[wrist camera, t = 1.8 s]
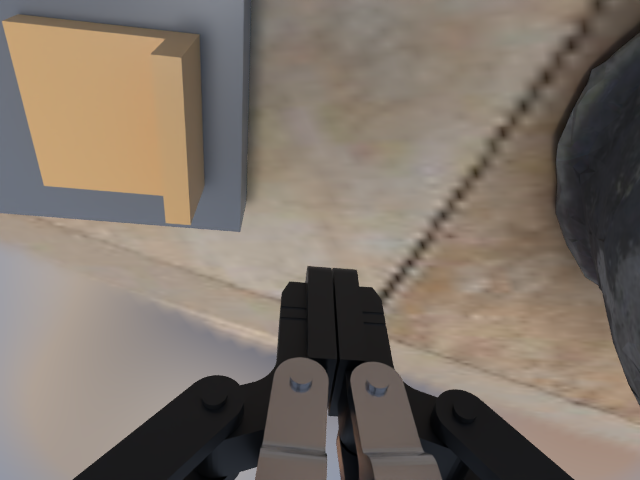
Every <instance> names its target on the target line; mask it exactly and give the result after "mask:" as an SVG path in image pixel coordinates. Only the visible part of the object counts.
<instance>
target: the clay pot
mask: <svg viewBox="0 0 640 480" xmlns="http://www.w3.org/2000/svg"><path fill="white" fill-rule="evenodd" d="M556 170H557V200H556V215H557V218H558V221H559V224H560V227H561V230H562V233H563V236H564V239H565V241H566V244H567V246H568V248H569V249H570V251H571V253H572V255H573V256H574V258H575V260H576V261H577V263H578V265H579V267H580V268H581V270H582V272H583V274H584V276H585V277H586V278H588V279H589V280H591V281H593V282H594V283H596V284H597V285H599V288H600V290H601V291H602V293H603V298H604V303H605V308H606V313H607V317H608V322H609V326H610V330H611V335H612V339H613V343H614V346H615V349H616V352H617V354H618V357H619V360H620V362H621V365H622V368H623V371H624V373H625V376H626V379H627V382H628V384H629V386H630V388H631V390H632V392H633V394H634V395H635V397H636V399H637V401H638V403H639V405H640V32H639V33H638V34H637V35H636V36H634V37H633V38H632V39H631V40H630V41H628V42H627V43H626V44H625V45H624V46H622V47H621V48H620V49H619V50H618V51H617V52H615V53H614V54H613V55H612V56H611V57H610V58H609V59H608V60H607V61H606V62H604V63H602V64H601V65H599V66H597V67H596V68H594V69H592V71H591V74H590V77H589V81H588V83H587V85H586V87H585V88H584V90H583V92H582V94H581V96H580V97H579V99H578V101H577V103H576V105H575V106H574V108H573V110H572V113H571V115H570V117H569V120H568V122H567V124H566V127H565V129H564V131H563V134H562V136H561V138H560V141H559V143H558V149H557V157H556Z"/></svg>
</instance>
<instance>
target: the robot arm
mask: <svg viewBox="0 0 640 480" xmlns="http://www.w3.org/2000/svg"><path fill="white" fill-rule="evenodd" d="M385 325H386V323H385V317H384V312H383V306H382V301H381V299H380V297H379V296H378V294H377V293H376V292H375V290H374V289H373V288H372V287H359V282H358V274H357V270H354V269H341V268H333V269H331V268H326V267H313V266H308V267H307V273H306V281H305V283H301V282H289V283H288V285H287V286H286V288H285V289H284V290H283V292H282V297H281V308H280V320H279V332H278V346H277V361H276V365H275V367H274V369H273V370H272V371H271V373H270V374H269V375H267V376H266V377H264V378H263V379H261V380H258V381H256V382H252V383H248V384H244V385H239V384H238V383H237V382H236V381H235V380H233V379H231V378H229V377H226V376H219V375H214V376H208V377H205V378H202V379H201V380H199V381H197V382H195V383H194V384H193V385H192V386H190V387H189V388H188V389H186V390H185V391H184V392H183V393H182V394H180V395H179V396H178V397H176V398H175V399H174V400H173V401H171V402H170V403H169V404H167V405H166V406H165V407H164V408H162V409H161V410H160V411H159V412H157V413H156V414H155V415H154V416H152V417H151V418H150V419H149V420H147V421H146V422H145V423H143V424H142V425H141V426H140V427H138V428H137V429H136V430H135V431H133V432H132V433H131V434H130V435H128V436H127V437H126V438H124V439H123V440H122V441H121V442H120V443H118V444H117V445H116V446H115V447H113V448H112V449H111V450H109V451H108V452H107V453H106V454H104V455H103V456H102V457H101V458H99V459H98V460H97V461H95V462H94V463H93V464H92V465H90V466H89V467H88V468H87V469H85V470H84V471H83V472H82V473H80V474H79V475H78V476H76V477H75V478H74V479H73V480H234V479H235V478H236V477H237V476H238V474H239V472H241V471H245V470H248V469H251V468H255V467H257V471H256V477H255V480H326V476H327V454H326V453H325V444H326V423H327V409H328V415H329V416H338V424H339V430H338V434H337V439H336V446H337V454H338V462H339V469H340V477H341V480H574V479H573V478H572V477H571V476H569V475H568V474H567V473H566V472H565V471H563V470H562V469H561V468H560V467H559V466H558V465H556V464H555V463H554V462H553V461H552V460H551V459H549V458H548V457H547V456H546V455H545V454H544V453H542V452H541V451H540V450H539V449H538V448H536V447H535V446H534V445H533V444H532V443H531V442H529V441H528V440H527V439H526V438H525V437H524V436H522V435H521V434H520V433H519V432H518V431H517V430H515V429H514V428H513V427H512V426H511V425H510V424H508V423H507V422H506V421H505V420H504V419H502V418H501V417H500V416H499V415H498V414H497V413H495V412H494V411H493V410H492V409H491V408H490V407H488V406H487V405H486V404H485V403H484V402H483V401H481V400H480V399H479V398H478V397H476V396H475V395H473V394H471V393H469V392H466V391H463V390H448V391H445V392H443V393H442V394H441V395H440V396H439V397H435V396H432V395H429V394H426V393H423V392H420V391H418V390H415V389H413V388H411V387H410V386H408V385H407V384H406V383H404V382H403V380H402V378H401V377H400V375H399V374H398V373H397V372H396V371H395V369H394V366H393V361H392V356H391V350H390V345H389V339H388V334H387V328H386V326H385Z"/></svg>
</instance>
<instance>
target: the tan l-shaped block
mask: <svg viewBox="0 0 640 480" xmlns="http://www.w3.org/2000/svg"><path fill="white" fill-rule="evenodd" d="M2 24H3V28H4V31H5V35H6V39H7V43H8V47H9V51H10V55H11V59H12V63H13V67H14V71H15V74H16V78H17V82H18V86H19V90H20V94H21V98H22V102H23V106H24V110H25V113H26V117H27V121H28V125H29V129H30V133H31V137H32V141H33V145H34V149H35V153H36V156H37V160H38V164H39V168H40V172H41V176H42V180H43V184H44V186H51V187H63V188H75V189H87V190H99V191H111V192H123V193H135V194H147V195H159V196H163V199H164V210H165V221H166V223H170V224H182V225H191V223H192V220H193V217H194V214H195V211H196V209H197V206H198V203H199V200H200V197H201V195H202V192H203V189H204V186H205V184H204V154H203V124H202V94H201V64H200V34H192V33H183V32H174V31H165V30H156V29H147V28H138V27H129V26H120V25H111V24H102V23H93V22H84V21H75V20H66V19H57V18H48V17H39V16H30V15H21V14H17V15H15V16H13V17H10V18H8V19H5V20H3V21H2Z"/></svg>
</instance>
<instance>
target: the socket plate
mask: <svg viewBox="0 0 640 480" xmlns="http://www.w3.org/2000/svg"><path fill="white" fill-rule="evenodd" d="M17 14H21V15H30V16H39V17H48V18H57V19H66V20H75V21H84V22H93V23H102V24H111V25H120V26H129V27H138V28H147V29H156V30H165V31H174V32H183V33H192V34H200V64H201V94H202V124H203V154H204V184H205V186H204V189H203V192H202V195H201V197H200V200H199V203H198V206H197V209H196V211H195V214H194V217H193V220H192V223H191V225H182V224H170V223H166V221H165V210H164V199H163V196H159V195H147V194H135V193H123V192H111V191H99V190H87V189H75V188H63V187H51V186H44V184H43V180H42V176H41V172H40V168H39V164H38V160H37V156H36V153H35V149H34V145H33V141H32V137H31V133H30V129H29V125H28V121H27V117H26V113H25V110H24V106H23V102H22V98H21V94H20V90H19V86H18V82H17V78H16V74H15V71H14V67H13V63H12V59H11V55H10V51H9V47H8V43H7V39H6V35H5V31H4V28H3V24H2V21H3V20H5V19H8V18H10V17H13V16H15V15H17ZM250 34H251V0H0V213H7V214H20V215H33V216H45V217H58V218H71V219H83V220H96V221H109V222H122V223H134V224H147V225H160V226H172V227H185V228H198V229H210V230H223V231H236V232H240V230H241V225H242V220H243V215H244V211H245V206H246V194H247V154H248V114H249V74H250Z"/></svg>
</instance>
